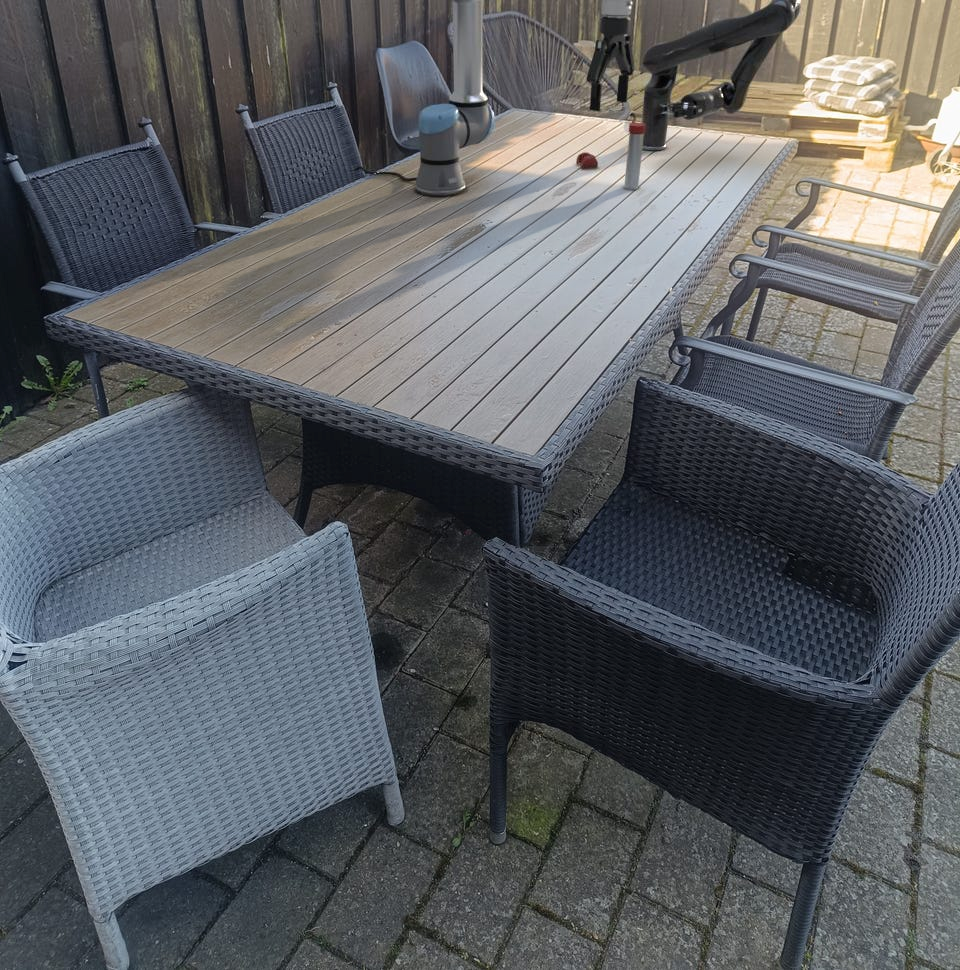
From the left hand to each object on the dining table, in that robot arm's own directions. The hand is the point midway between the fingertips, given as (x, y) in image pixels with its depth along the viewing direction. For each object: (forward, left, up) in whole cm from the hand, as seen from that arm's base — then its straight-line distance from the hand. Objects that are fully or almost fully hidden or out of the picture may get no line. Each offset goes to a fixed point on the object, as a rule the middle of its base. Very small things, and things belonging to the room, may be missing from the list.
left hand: (608, 106), depth 226 cm
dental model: (-28, +37, -28) cm, 54 cm away
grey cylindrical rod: (-4, +25, -28) cm, 38 cm away
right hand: (-7, +45, -10) cm, 47 cm away
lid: (-4, +25, -10) cm, 27 cm away
